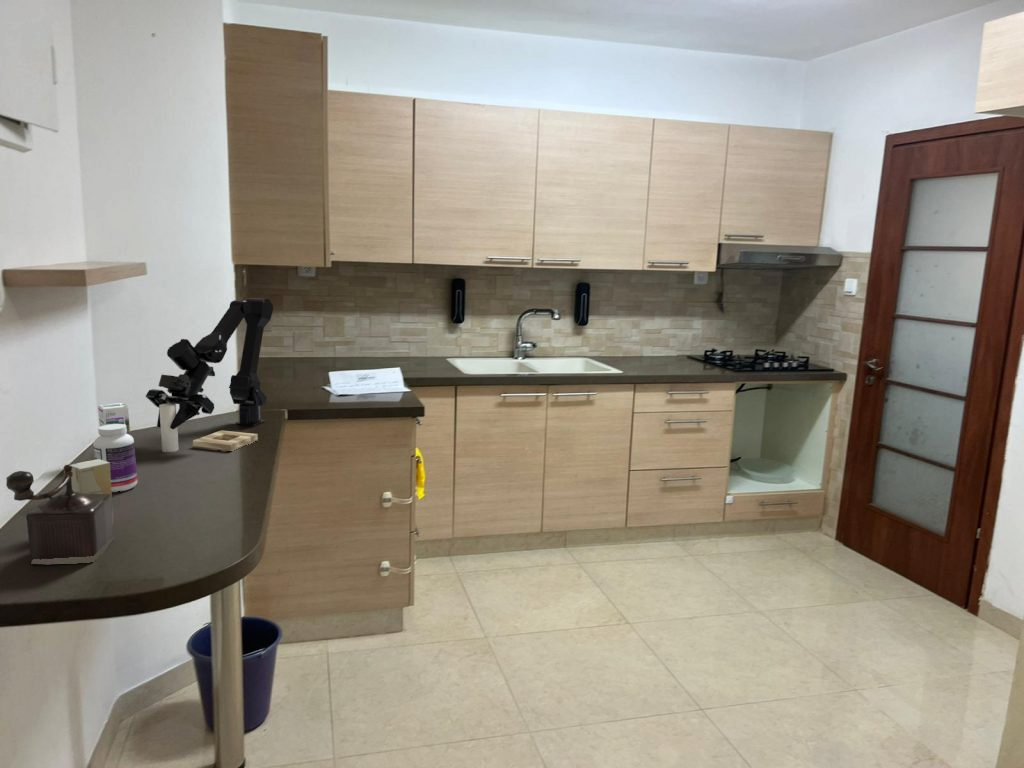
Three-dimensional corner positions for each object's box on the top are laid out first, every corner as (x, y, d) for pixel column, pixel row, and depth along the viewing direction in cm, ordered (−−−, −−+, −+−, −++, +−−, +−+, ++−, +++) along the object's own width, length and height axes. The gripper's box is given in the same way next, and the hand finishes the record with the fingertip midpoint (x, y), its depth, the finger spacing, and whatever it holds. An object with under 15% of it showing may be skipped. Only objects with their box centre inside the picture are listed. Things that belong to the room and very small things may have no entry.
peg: (169, 447, 196) (166, 402, 193) (181, 449, 195) (179, 404, 192) (158, 451, 192) (155, 405, 189) (171, 452, 191) (168, 407, 188)
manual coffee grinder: (52, 542, 133) (42, 449, 130) (116, 539, 135) (108, 447, 132) (10, 580, 118) (-2, 476, 115) (83, 576, 120) (73, 474, 117)
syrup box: (107, 465, 179) (103, 408, 177) (102, 459, 184) (97, 404, 181) (132, 461, 183) (128, 405, 180) (126, 455, 187) (122, 401, 185)
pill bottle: (144, 482, 167) (140, 422, 164) (125, 494, 159) (120, 431, 156) (110, 481, 167) (105, 421, 165) (89, 493, 159) (84, 430, 157)
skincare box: (82, 529, 140) (77, 469, 137) (70, 524, 142) (65, 465, 140) (115, 519, 145) (110, 461, 143) (103, 514, 147) (98, 457, 145)
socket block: (221, 437, 207) (220, 430, 207) (257, 440, 205) (257, 434, 204) (193, 447, 196) (192, 440, 196) (231, 452, 193) (231, 444, 193)
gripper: (148, 360, 195) (118, 407, 187) (204, 365, 190) (175, 414, 181) (172, 383, 204) (144, 430, 196) (226, 389, 199) (200, 437, 190)
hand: (164, 427), depth 191 cm, fingers closed on peg, 4 cm apart
